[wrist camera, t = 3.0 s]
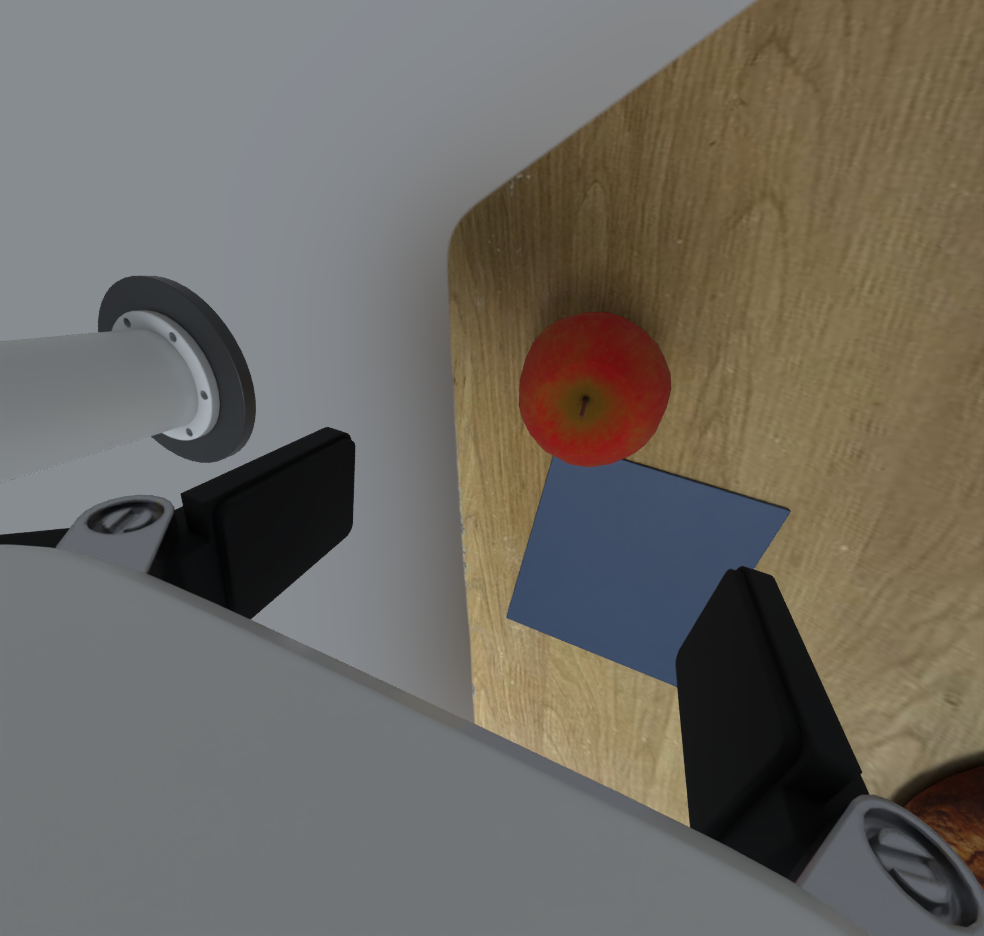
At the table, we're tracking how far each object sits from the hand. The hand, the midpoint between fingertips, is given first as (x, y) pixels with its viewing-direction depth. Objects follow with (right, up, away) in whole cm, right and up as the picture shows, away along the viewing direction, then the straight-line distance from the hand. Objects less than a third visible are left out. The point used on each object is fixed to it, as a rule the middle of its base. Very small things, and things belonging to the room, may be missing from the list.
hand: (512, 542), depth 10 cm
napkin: (+11, -7, +25) cm, 28 cm away
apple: (+7, +9, +19) cm, 23 cm away
